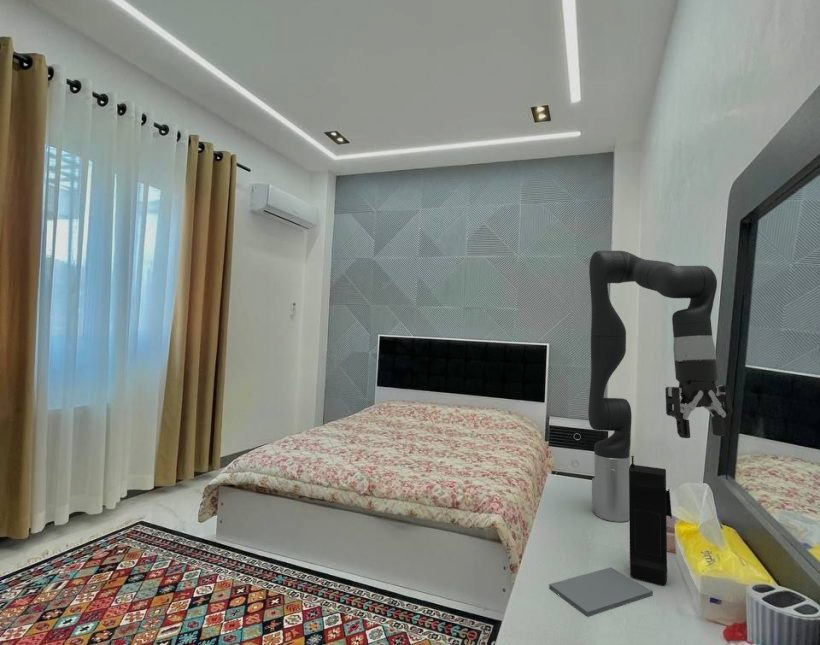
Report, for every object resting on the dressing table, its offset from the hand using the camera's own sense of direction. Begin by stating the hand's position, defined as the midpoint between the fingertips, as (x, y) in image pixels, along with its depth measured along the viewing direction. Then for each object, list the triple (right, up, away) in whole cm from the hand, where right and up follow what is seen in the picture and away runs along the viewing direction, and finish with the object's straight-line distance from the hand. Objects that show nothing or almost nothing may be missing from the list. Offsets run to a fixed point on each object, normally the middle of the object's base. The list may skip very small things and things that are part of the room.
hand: (701, 436), depth 93 cm
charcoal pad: (-23, -30, -4) cm, 38 cm away
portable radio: (-10, -30, +2) cm, 32 cm away
